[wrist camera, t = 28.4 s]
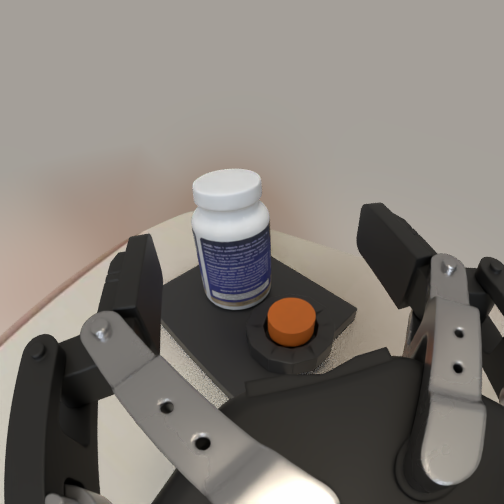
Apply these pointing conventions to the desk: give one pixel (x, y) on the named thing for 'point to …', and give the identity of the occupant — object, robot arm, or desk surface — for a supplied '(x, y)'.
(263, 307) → the scale
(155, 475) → the desk surface
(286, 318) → the button
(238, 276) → the pill bottle
